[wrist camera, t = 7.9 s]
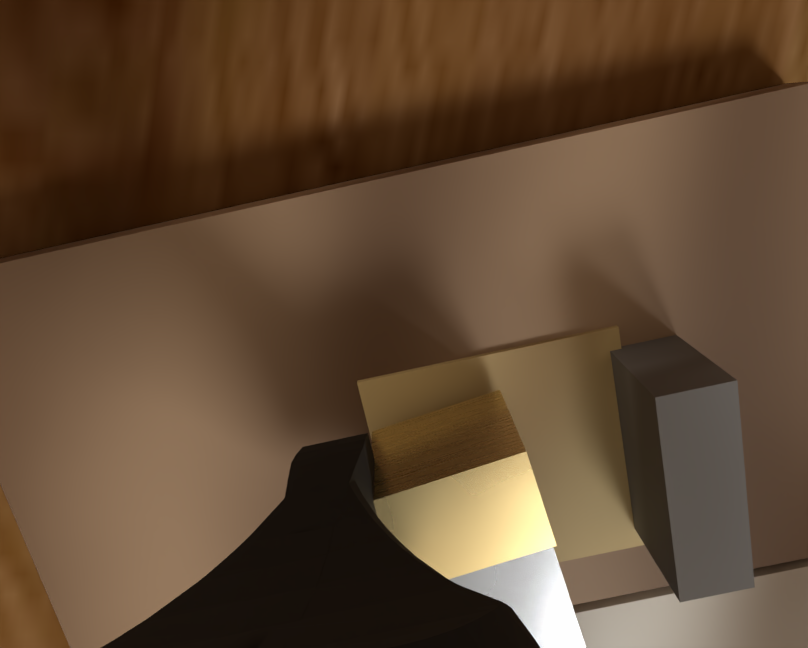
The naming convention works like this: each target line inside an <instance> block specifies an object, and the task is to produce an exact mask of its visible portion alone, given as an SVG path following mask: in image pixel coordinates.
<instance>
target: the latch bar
mask: <svg viewBox="0 0 808 648" xmlns="http://www.w3.org/2000/svg"><path fill="white" fill-rule="evenodd" d="M372 451H373V455H374V459H375V492H374V499H373V502H374V506H375V510H376V514H377V516H378V518H379V519H380V520H381V521H382V523H383V524H384V525H385V526H386V527H387V528H388V530H389V531H390V532H391V533H392V534H393V535H394V536H395V537H396V538H397V539H398V540H399V541H400V542H401V543H402V544H403V545H404V546H405V547H406V548H407V549H409V550H410V551H411V552H412V553H413V554H414V555H415V556H416V557H418V558H419V559H420V560H422V561H423V562H425V563H426V564H427V565H429V566H430V567H432V568H433V569H434V570H436V571H437V572H439V573H440V574H441V575H443V576H444V577H446V578H447V579H449V580H451V581H452V582H454V583H456V584H458V585H460V586H463V587H465V588H468V589H470V590H473V591H476V592H478V593H481V594H483V595H486V596H489V597H491V598H494V599H496V600H499V601H502V602H504V603H505V604H507V605H508V606H510V607H511V608H512V609H513V610H514V612H515V613H516V614H517V616H518V617H519V618H520V620H521V621H522V622H523V624H524V625H525V626H526V628H527V629H528V631H529V632H530V633H531V635H532V636H533V637H534V639H535V640H536V642H537V643H538V645H539V646H540V648H586V646H585V643H584V640H583V637H582V633H581V630H580V627H579V624H578V621H577V618H576V615H575V612H574V609H573V606H572V603H571V600H570V597H569V593H568V590H567V587H566V584H565V581H564V578H563V575H562V572H561V569H560V566H559V563H558V560H557V556H556V553H555V550H554V546H557V545H556V542H555V539H554V536H553V532H552V529H551V526H550V523H549V520H548V517H547V514H546V511H545V508H544V505H543V501H542V498H541V495H540V492H539V489H538V486H537V483H536V480H535V477H534V474H533V470H532V467H531V464H530V461H529V458H528V455H527V452H526V449H525V447H524V445H523V442H522V440H521V438H520V436H519V433H518V431H517V429H516V426H515V424H514V422H513V419H512V417H511V415H510V412H509V410H508V408H507V405H506V403H505V401H504V398H503V396H502V394H501V391H500V390H497V391H494V392H491V393H488V394H485V395H482V396H479V397H476V398H473V399H470V400H467V401H463V402H460V403H457V404H454V405H451V406H448V407H445V408H442V409H439V410H436V411H433V412H430V413H427V414H424V415H421V416H418V417H415V418H412V419H409V420H406V421H403V422H399V423H396V424H393V425H390V426H387V427H384V428H381V429H378V430H375V431H372Z"/></svg>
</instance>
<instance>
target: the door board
mask: <svg viewBox="0 0 808 648" xmlns="http://www.w3.org/2000/svg"><path fill="white" fill-rule="evenodd" d="M497 390H500V391H501V394H502V396H503V398H504V401H505V403H506V405H507V408H508V410H509V412H510V415H511V417H512V419H513V422H514V424H515V426H516V429H517V431H518V433H519V436H520V438H521V440H522V442H523V445H524V447H525V449H526V452H527V455H528V458H529V461H530V464H531V467H532V470H533V474H534V477H535V480H536V483H537V486H538V489H539V492H540V495H541V498H542V501H543V505H544V508H545V511H546V514H547V517H548V520H549V523H550V526H551V529H552V532H553V536H554V539H555V542H556V545H557V546H554V550H555V553H556V556H557V560H558V563H559V566H560V569H561V572H562V575H563V578H564V581H565V584H566V587H567V590H568V593H569V597H570V600H571V603H572V606H573V609H574V612H575V615H576V618H577V621H578V624H579V627H580V630H581V633H582V637H583V640H584V643H585V646H586V648H808V82H799V83H786V84H782V85H777V86H773V87H768V88H764V89H759V90H755V91H750V92H746V93H741V94H737V95H732V96H728V97H723V98H719V99H714V100H710V101H706V102H701V103H697V104H692V105H688V106H683V107H679V108H674V109H670V110H665V111H661V112H656V113H652V114H647V115H643V116H638V117H634V118H629V119H625V120H620V121H616V122H611V123H607V124H602V125H598V126H593V127H589V128H584V129H580V130H575V131H571V132H566V133H562V134H557V135H553V136H548V137H544V138H539V139H535V140H530V141H526V142H521V143H517V144H512V145H508V146H503V147H499V148H494V149H490V150H485V151H481V152H476V153H472V154H467V155H463V156H458V157H454V158H449V159H445V160H440V161H436V162H431V163H427V164H422V165H418V166H413V167H409V168H404V169H400V170H395V171H391V172H386V173H382V174H377V175H373V176H368V177H364V178H359V179H355V180H350V181H346V182H341V183H337V184H332V185H328V186H323V187H319V188H314V189H310V190H305V191H301V192H296V193H292V194H287V195H283V196H278V197H274V198H269V199H265V200H260V201H256V202H251V203H247V204H242V205H238V206H233V207H229V208H224V209H220V210H215V211H211V212H206V213H202V214H197V215H193V216H188V217H184V218H179V219H175V220H170V221H166V222H161V223H157V224H152V225H148V226H143V227H139V228H134V229H130V230H126V231H121V232H117V233H112V234H108V235H103V236H99V237H94V238H90V239H85V240H81V241H76V242H72V243H67V244H63V245H58V246H54V247H49V248H45V249H40V250H36V251H31V252H27V253H22V254H18V255H13V256H9V257H4V258H0V484H1V487H2V489H3V491H4V494H5V496H6V499H7V501H8V503H9V506H10V508H11V510H12V513H13V515H14V517H15V520H16V522H17V524H18V527H19V529H20V531H21V534H22V536H23V538H24V541H25V543H26V545H27V548H28V550H29V552H30V555H31V557H32V559H33V562H34V564H35V566H36V569H37V571H38V573H39V576H40V578H41V580H42V583H43V585H44V587H45V590H46V592H47V594H48V597H49V599H50V601H51V604H52V606H53V608H54V611H55V613H56V615H57V618H58V620H59V622H60V625H61V627H62V629H63V632H64V634H65V636H66V639H67V641H68V643H69V646H70V648H101V647H103V646H104V645H106V644H108V643H109V642H111V641H113V640H115V639H116V638H118V637H119V636H121V635H122V634H124V633H126V632H127V631H129V630H130V629H132V628H133V627H135V626H137V625H138V624H140V623H141V622H143V621H144V620H146V619H147V618H149V617H150V616H152V615H153V614H154V613H156V612H157V611H159V610H160V609H161V608H163V607H164V606H165V605H167V604H168V603H170V602H171V601H172V600H174V599H175V598H176V597H178V596H179V595H180V594H182V593H183V592H185V591H186V590H187V589H189V588H190V587H191V586H193V585H194V584H196V583H197V582H198V581H199V580H201V579H202V578H203V577H204V576H206V575H207V574H208V573H209V572H210V571H212V570H213V569H214V568H215V567H216V566H217V565H219V564H220V563H221V562H222V561H223V560H224V559H225V558H227V557H228V556H229V555H230V554H231V553H232V552H233V551H234V550H235V549H237V548H238V547H239V546H240V545H241V544H242V543H243V542H244V541H245V540H246V539H247V538H248V537H249V536H250V535H251V534H252V533H253V532H254V531H255V530H256V529H257V528H258V526H259V525H260V524H261V523H262V522H263V521H264V520H265V519H266V518H267V517H268V516H269V515H270V513H271V512H272V511H273V510H274V509H275V508H276V507H277V506H278V505H279V504H280V503H281V502H282V500H283V499H284V498H285V493H286V487H287V481H288V476H289V471H290V466H291V462H292V461H293V459H294V457H295V456H296V454H297V453H298V452H299V451H300V449H301V448H302V447H305V446H309V445H314V444H319V443H323V442H328V441H332V440H337V439H342V438H346V437H351V436H355V435H360V434H365V433H368V435H369V439H370V443H371V447H372V431H375V430H378V429H381V428H384V427H387V426H390V425H393V424H396V423H399V422H403V421H406V420H409V419H412V418H415V417H418V416H421V415H424V414H427V413H430V412H433V411H436V410H439V409H442V408H445V407H448V406H451V405H454V404H457V403H460V402H463V401H467V400H470V399H473V398H476V397H479V396H482V395H485V394H488V393H491V392H494V391H497Z"/></svg>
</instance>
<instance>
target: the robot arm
mask: <svg viewBox="0 0 808 648" xmlns="http://www.w3.org/2000/svg"><path fill="white" fill-rule="evenodd" d="M374 492H375V459H374V455H373V451H372V447H371V443H370V439H369V435H368V433H365V434H360V435H355V436H351V437H346V438H342V439H337V440H332V441H328V442H323V443H319V444H314V445H309V446H305V447H302V448H301V449H300V451H299V452H298V453H297V454H296V456H295V457H294V459H293V461H292V462H291V466H290V471H289V476H288V481H287V487H286V493H285V498H284V499H283V500H282V502H281V503H280V504H279V505H278V506H277V507H276V508H275V509H274V510H273V511H272V512H271V513H270V515H269V516H268V517H267V518H266V519H265V520H264V521H263V522H262V523H261V524H260V525H259V526H258V528H257V529H256V530H255V531H254V532H253V533H252V534H251V535H250V536H249V537H248V538H247V539H246V540H245V541H244V542H243V543H242V544H241V545H240V546H239V547H238V548H237V549H235V550H234V551H233V552H232V553H231V554H230V555H229V556H228V557H227V558H225V559H224V560H223V561H222V562H221V563H220V564H219V565H217V566H216V567H215V568H214V569H213V570H212V571H210V572H209V573H208V574H207V575H206V576H204V577H203V578H202V579H201V580H199V581H198V582H197V583H196V584H194V585H193V586H191V587H190V588H189V589H187V590H186V591H185V592H183V593H182V594H180V595H179V596H178V597H176V598H175V599H174V600H172V601H171V602H170V603H168V604H167V605H165V606H164V607H163V608H161V609H160V610H159V611H157V612H156V613H154V614H153V615H152V616H150V617H149V618H147V619H146V620H144V621H143V622H141V623H140V624H138V625H137V626H135V627H133V628H132V629H130V630H129V631H127V632H126V633H124V634H122V635H121V636H119V637H118V638H116V639H115V640H113V641H111V642H109V643H108V644H106V645H104V646H103V647H101V648H540V646H539V645H538V643H537V642H536V640H535V639H534V637H533V636H532V635H531V633H530V632H529V631H528V629H527V628H526V626H525V625H524V624H523V622H522V621H521V620H520V618H519V617H518V616H517V614H516V613H515V612H514V610H513V609H512V608H511V607H510V606H508V605H507V604H505V603H504V602H502V601H499V600H496V599H494V598H491V597H489V596H486V595H483V594H481V593H478V592H476V591H473V590H470V589H468V588H465V587H463V586H460V585H458V584H456V583H454V582H452V581H451V580H449V579H447V578H446V577H444V576H443V575H441V574H440V573H439V572H437V571H436V570H434V569H433V568H432V567H430V566H429V565H427V564H426V563H425V562H423V561H422V560H420V559H419V558H418V557H416V556H415V555H414V554H413V553H412V552H411V551H410V550H409V549H407V548H406V547H405V546H404V545H403V544H402V543H401V542H400V541H399V540H398V539H397V538H396V537H395V536H394V535H393V534H392V533H391V532H390V531H389V530H388V528H387V527H386V526H385V525H384V524H383V523H382V521H381V520H380V519H379V518H378V516H377V514H376V510H375V506H374V502H373V499H374Z"/></svg>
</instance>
